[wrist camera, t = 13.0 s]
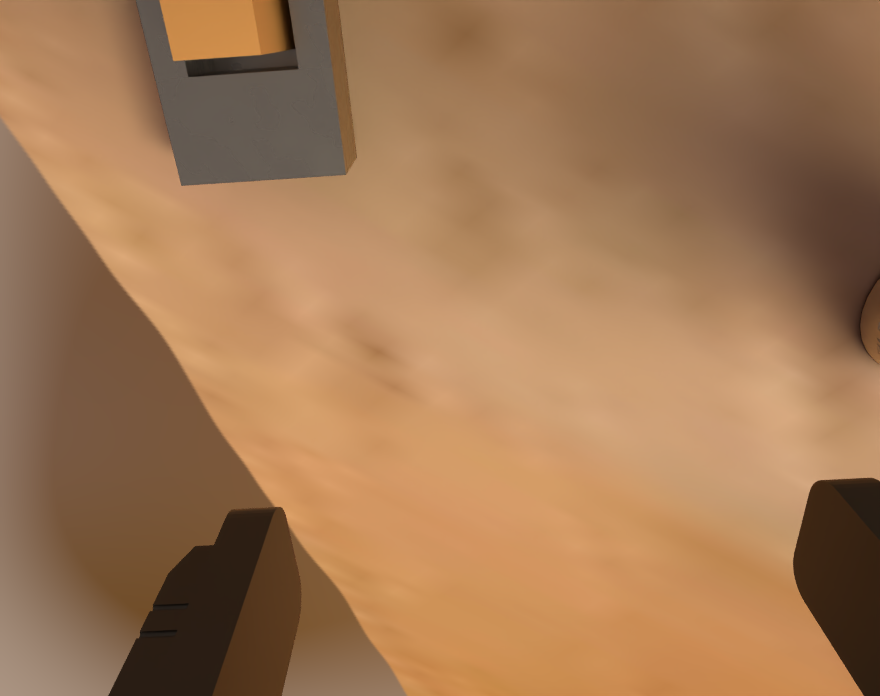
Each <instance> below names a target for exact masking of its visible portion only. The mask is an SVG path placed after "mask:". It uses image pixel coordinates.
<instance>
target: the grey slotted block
mask: <svg viewBox="0 0 880 696" xmlns="http://www.w3.org/2000/svg"><path fill="white" fill-rule="evenodd" d="M288 2H289V9H290V15H291V22H292V28H293V35H294V42H295V48H296V49H292V50H286V51H280V52H275V53H269V54H263V55H252V56H238V57H224V58H210V59H195V60H181V61H173V57H172V53H171V48H170V44H169V40H168V35H167V31H166V27H165V22H164V18H163V14H162V9H161V5H160V1H159V0H136V3H137V7H138V11H139V15H140V19H141V24H142V28H143V32H144V36H145V40H146V44H147V48H148V52H149V56H150V60H151V64H152V68H153V72H154V76H155V80H156V84H157V88H158V92H159V96H160V101H161V105H162V109H163V113H164V117H165V121H166V125H167V129H168V133H169V137H170V141H171V145H172V149H173V153H174V157H175V161H176V165H177V169H178V174H179V178H180V182H181V186H185V185H200V184H215V183H230V182H245V181H260V180H275V179H290V178H305V177H320V176H335V175H346V174H347V172H348V171H349V169H350V167H351V166H352V164H353V163H354V161H355V159H356V158H357V155H356V147H355V138H354V130H353V122H352V114H351V105H350V97H349V89H348V81H347V72H346V64H345V56H344V47H343V39H342V31H341V23H340V14H339V6H338V0H288Z"/></svg>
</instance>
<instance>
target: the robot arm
mask: <svg viewBox="0 0 880 696" xmlns="http://www.w3.org/2000/svg"><path fill="white" fill-rule="evenodd" d="M860 328H861V337H862V341H863V343H864V346H865V348H866V351H867V352H868V353H869V354H870V356H871V357H872V358H873V359H874V360H875V361H876V362H877V363H879V364H880V279H879V280H878V281H877V282H876V284H875V286H874V287H873V289H872V291H871V292H870V294H869V295H868V297H867V300H866V303H865V305H864V308H863V311H862V317H861V324H860ZM793 569H794V575H795V580H796V584H797V587H798V590H799V592H800V594H801V596H802V598H803V600H804V602H805V603H806V605H807V606H808V608H809V610H810V611H811V613H812V614H813V616H814V618H815V619H816V621H817V622H818V624H819V625H820V627H821V629H822V630H823V632H824V633H825V635H826V636H827V638H828V640H829V641H830V643H831V644H832V646H833V648H834V649H835V651H836V652H837V654H838V655H839V657H840V659H841V660H842V662H843V663H844V665H845V667H846V668H847V670H848V671H849V673H850V674H851V676H852V678H853V679H854V681H855V682H856V684H857V685H858V687H859V689H860V690H861V692H862V693H863V695H864V696H880V481H878V480H877V479H874V478H856V479H837V480H820V481H817V482H815V483H814V484H813V486H812V487H811V490H810V493H809V496H808V500H807V504H806V508H805V512H804V516H803V520H802V524H801V528H800V532H799V536H798V540H797V544H796V548H795V552H794V558H793ZM300 611H301V583H300V576H299V572H298V567H297V563H296V559H295V554H294V550H293V546H292V541H291V536H290V532H289V527H288V523H287V519H286V515H285V512H284V510H283V509H282V508H281V507H269V508H250V509H233V510H231V511H230V512H229V513H228V515H227V517H226V519H225V521H224V523H223V525H222V528H221V530H220V532H219V535H218V537H217V539H216V542H215V544H214V545H210V546H195V547H194V548H193V549H192V550H191V551H190V552H189V553H188V554H187V555H186V556H185V557H184V558H183V559H182V560H181V561H180V562H179V563H178V565H176V566H175V567H174V568H173V569H172V570H171V571H170V573H169V574H168V575H167V577H166V580H165V582H164V584H163V586H162V588H161V590H160V592H159V594H158V596H157V598H156V600H155V602H154V604H153V611H150V612H149V614H148V616H147V618H146V620H145V622H144V624H143V627H142V628H141V630H140V637H139V638H138V639H136V641H135V643H134V645H133V647H132V649H131V651H130V653H129V655H128V657H127V659H126V661H125V663H124V665H123V667H122V669H121V671H120V673H119V675H118V677H117V679H116V681H115V683H114V685H113V687H112V689H111V691H110V694H109V695H108V696H282V692H283V687H284V683H285V678H286V675H287V670H288V666H289V662H290V657H291V653H292V649H293V645H294V640H295V636H296V632H297V627H298V623H299V618H300Z"/></svg>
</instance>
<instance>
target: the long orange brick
mask: <svg viewBox="0 0 880 696" xmlns="http://www.w3.org/2000/svg"><path fill="white" fill-rule="evenodd" d="M159 1H160V5H161V9H162V14H163V18H164V22H165V27H166V31H167V35H168V40H169V44H170V48H171V53H172V57H173V61H181V60H195V59H210V58H224V57H238V56H252V55H263V54H269V53H275V52H280V51H286V50H292V49H296V48H295V42H294V35H293V28H292V22H291V15H290V9H289V2H288V0H159Z"/></svg>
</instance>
